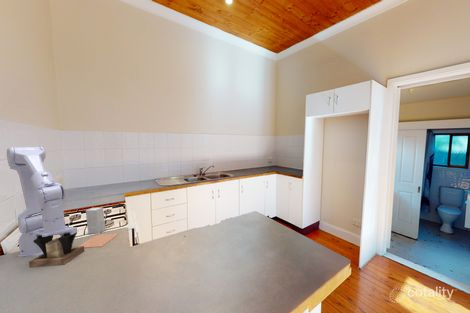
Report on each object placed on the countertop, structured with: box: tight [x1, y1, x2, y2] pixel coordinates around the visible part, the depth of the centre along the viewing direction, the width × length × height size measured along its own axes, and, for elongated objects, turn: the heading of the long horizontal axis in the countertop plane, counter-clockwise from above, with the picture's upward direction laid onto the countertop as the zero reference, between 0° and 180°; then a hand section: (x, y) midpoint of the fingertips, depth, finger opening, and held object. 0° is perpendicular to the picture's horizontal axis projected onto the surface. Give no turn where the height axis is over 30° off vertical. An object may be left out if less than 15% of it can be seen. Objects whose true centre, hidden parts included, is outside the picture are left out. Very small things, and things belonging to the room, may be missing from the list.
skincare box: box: [85, 207, 106, 235], centre depth 91 cm, size 6×4×12 cm
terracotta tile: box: [77, 233, 120, 249], centre depth 80 cm, size 11×11×1 cm
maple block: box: [46, 237, 69, 259], centre depth 68 cm, size 4×4×7 cm
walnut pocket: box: [28, 245, 85, 268], centre depth 68 cm, size 12×8×2 cm
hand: (58, 253), depth 68 cm, fingers open, 7 cm apart
